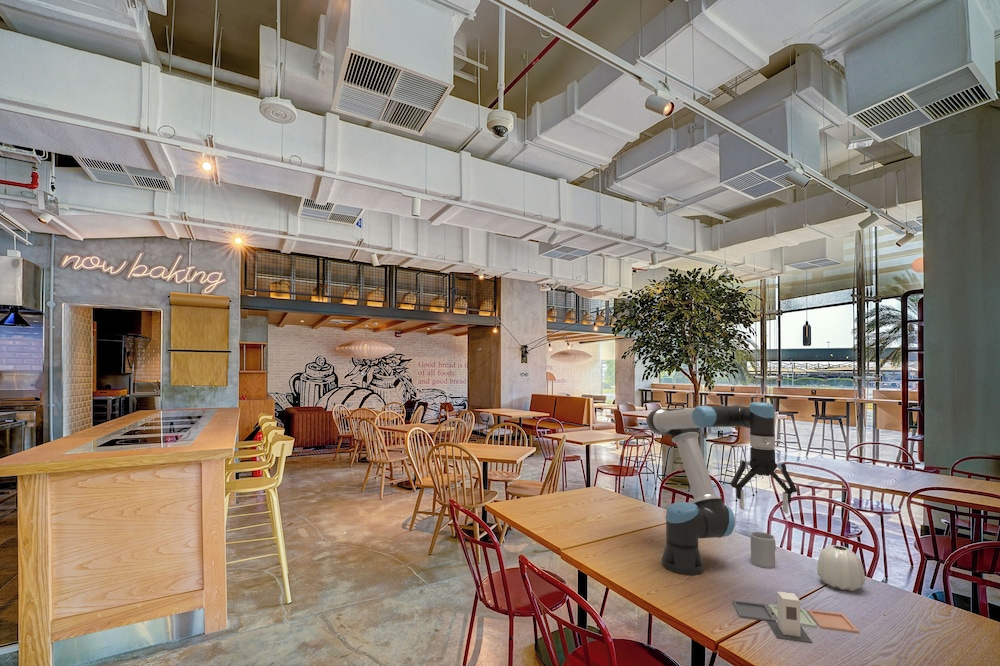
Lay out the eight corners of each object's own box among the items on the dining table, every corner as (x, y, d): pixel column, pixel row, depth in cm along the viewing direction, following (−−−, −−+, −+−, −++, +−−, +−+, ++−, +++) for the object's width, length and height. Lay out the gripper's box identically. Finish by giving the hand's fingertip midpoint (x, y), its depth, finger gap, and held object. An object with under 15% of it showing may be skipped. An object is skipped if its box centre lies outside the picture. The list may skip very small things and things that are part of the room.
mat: (777, 639, 136) (777, 637, 136) (767, 623, 144) (767, 621, 144) (812, 644, 133) (812, 642, 134) (800, 627, 142) (800, 625, 142)
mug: (766, 569, 183) (766, 540, 184) (746, 561, 190) (745, 533, 191) (785, 564, 189) (784, 535, 189) (764, 556, 196) (763, 529, 197)
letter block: (783, 634, 137) (782, 598, 138) (777, 626, 142) (777, 591, 142) (800, 637, 136) (799, 600, 137) (794, 628, 141) (794, 593, 141)
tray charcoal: (739, 618, 147) (739, 615, 147) (732, 603, 156) (732, 600, 156) (775, 623, 144) (775, 620, 144) (765, 607, 154) (765, 604, 154)
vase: (852, 598, 161) (850, 557, 162) (809, 581, 174) (808, 543, 174) (873, 590, 168) (872, 551, 168) (830, 574, 180) (829, 538, 181)
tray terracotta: (820, 629, 141) (820, 625, 141) (807, 612, 151) (807, 609, 151) (859, 634, 139) (859, 631, 139) (843, 617, 149) (843, 613, 149)
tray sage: (779, 624, 144) (779, 620, 144) (769, 607, 154) (769, 604, 154) (816, 628, 142) (816, 625, 142) (803, 612, 151) (803, 608, 151)
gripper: (725, 447, 164) (726, 510, 162) (807, 451, 158) (808, 517, 156) (721, 443, 171) (721, 504, 170) (798, 448, 165) (800, 510, 164)
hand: (763, 510), depth 163 cm, fingers open, 13 cm apart
